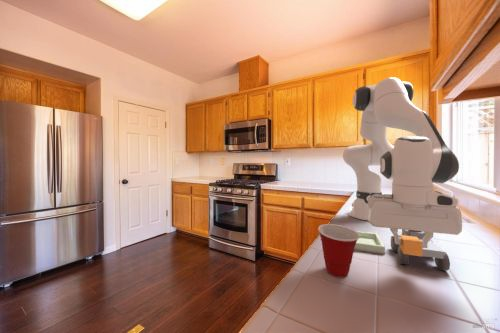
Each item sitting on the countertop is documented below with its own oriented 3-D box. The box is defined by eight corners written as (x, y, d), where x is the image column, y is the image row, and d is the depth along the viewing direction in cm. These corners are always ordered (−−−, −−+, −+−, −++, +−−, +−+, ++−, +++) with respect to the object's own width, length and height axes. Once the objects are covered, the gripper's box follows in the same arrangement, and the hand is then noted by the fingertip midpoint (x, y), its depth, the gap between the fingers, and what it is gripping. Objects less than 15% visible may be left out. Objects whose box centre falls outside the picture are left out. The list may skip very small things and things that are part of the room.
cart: (390, 247, 74) (390, 224, 74) (428, 252, 70) (429, 227, 70) (402, 266, 61) (402, 238, 61) (449, 274, 57) (450, 243, 57)
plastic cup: (346, 288, 51) (346, 240, 51) (309, 270, 60) (309, 228, 59) (367, 274, 57) (367, 231, 57) (331, 259, 66) (331, 221, 66)
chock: (422, 256, 54) (422, 243, 54) (403, 253, 56) (403, 240, 56) (416, 249, 59) (416, 236, 59) (399, 246, 60) (399, 234, 60)
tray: (348, 236, 85) (348, 230, 85) (377, 239, 81) (377, 233, 81) (350, 249, 73) (350, 242, 73) (384, 254, 69) (384, 246, 69)
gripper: (369, 195, 58) (369, 244, 58) (466, 200, 50) (465, 256, 50) (366, 191, 64) (365, 236, 64) (453, 195, 56) (451, 246, 56)
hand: (410, 245), depth 57 cm, fingers closed on chock, 4 cm apart
